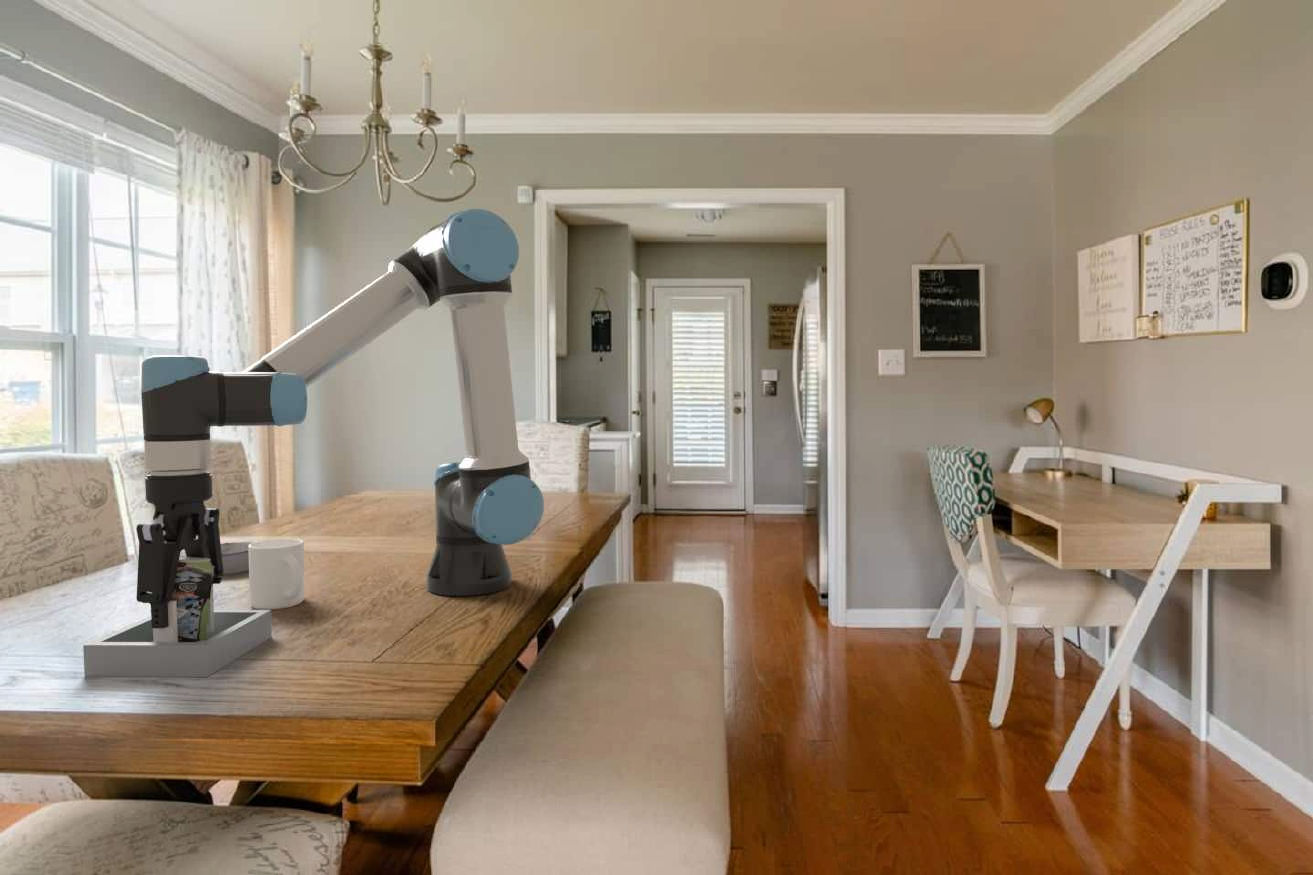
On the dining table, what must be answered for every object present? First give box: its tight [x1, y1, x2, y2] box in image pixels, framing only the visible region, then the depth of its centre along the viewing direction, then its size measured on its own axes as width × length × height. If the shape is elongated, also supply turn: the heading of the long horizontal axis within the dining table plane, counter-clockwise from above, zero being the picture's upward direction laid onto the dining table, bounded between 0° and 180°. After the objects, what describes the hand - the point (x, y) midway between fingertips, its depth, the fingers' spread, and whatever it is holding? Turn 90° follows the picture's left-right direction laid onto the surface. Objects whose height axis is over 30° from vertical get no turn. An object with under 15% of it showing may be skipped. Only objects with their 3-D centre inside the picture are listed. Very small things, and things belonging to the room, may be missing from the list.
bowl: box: [213, 541, 255, 576], centre depth 150 cm, size 13×13×5 cm
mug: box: [248, 538, 306, 611], centre depth 124 cm, size 12×8×10 cm
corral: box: [82, 609, 273, 678], centre depth 100 cm, size 15×15×4 cm
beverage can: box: [152, 555, 214, 642], centre depth 100 cm, size 6×7×12 cm
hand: (185, 640), depth 100 cm, fingers closed on beverage can, 7 cm apart
